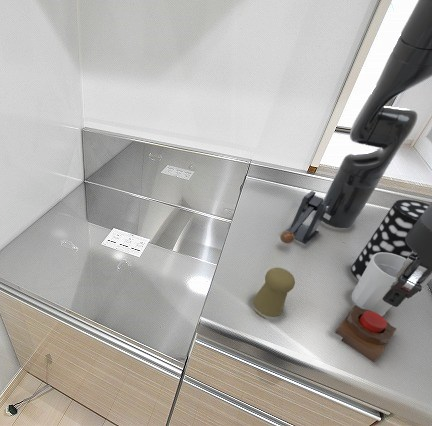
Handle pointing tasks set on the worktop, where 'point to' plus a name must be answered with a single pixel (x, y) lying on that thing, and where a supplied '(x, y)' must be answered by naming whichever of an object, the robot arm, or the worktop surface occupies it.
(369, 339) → the button block
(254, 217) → the worktop surface
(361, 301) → the cup
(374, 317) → the button
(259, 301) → the cork
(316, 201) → the lever
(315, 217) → the lever bracket
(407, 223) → the white-spotted black cylinder
